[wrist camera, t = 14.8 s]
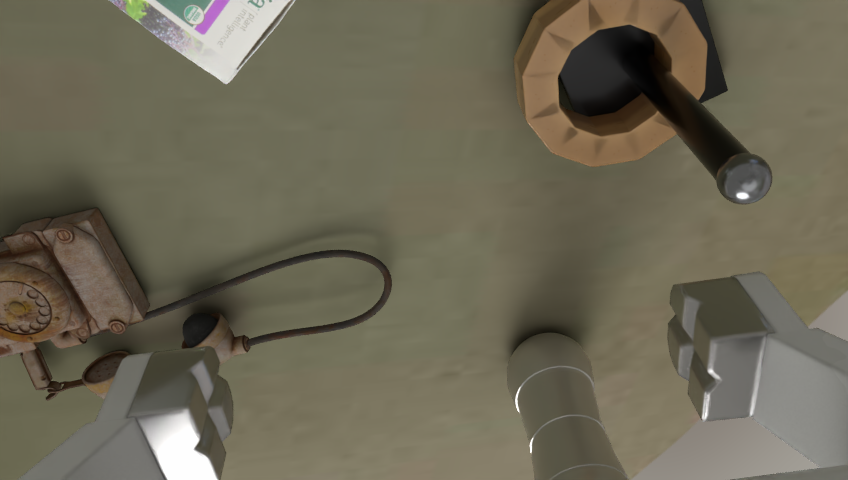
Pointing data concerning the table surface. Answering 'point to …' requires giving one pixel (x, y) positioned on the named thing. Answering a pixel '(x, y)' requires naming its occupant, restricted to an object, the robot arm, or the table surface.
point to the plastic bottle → (560, 410)
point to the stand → (664, 100)
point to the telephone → (108, 298)
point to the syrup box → (210, 28)
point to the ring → (638, 120)
